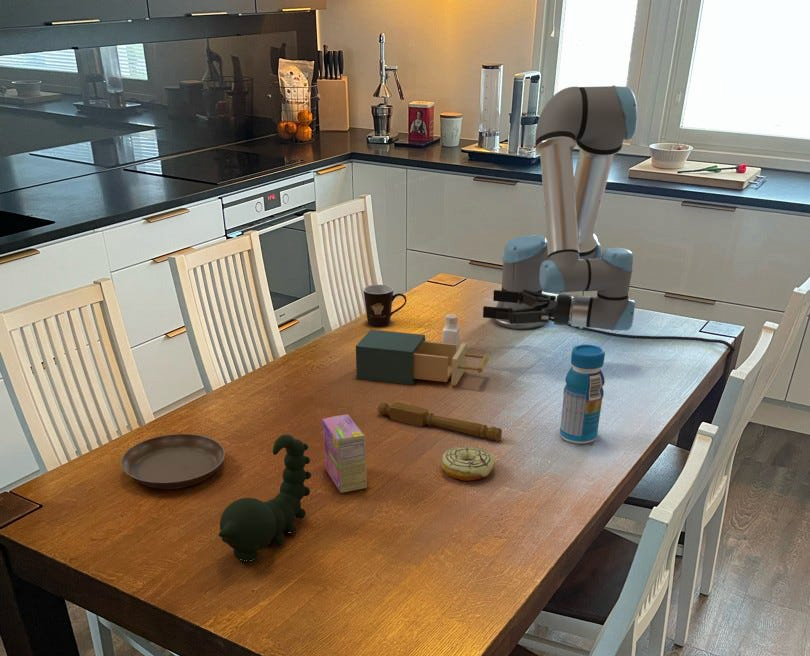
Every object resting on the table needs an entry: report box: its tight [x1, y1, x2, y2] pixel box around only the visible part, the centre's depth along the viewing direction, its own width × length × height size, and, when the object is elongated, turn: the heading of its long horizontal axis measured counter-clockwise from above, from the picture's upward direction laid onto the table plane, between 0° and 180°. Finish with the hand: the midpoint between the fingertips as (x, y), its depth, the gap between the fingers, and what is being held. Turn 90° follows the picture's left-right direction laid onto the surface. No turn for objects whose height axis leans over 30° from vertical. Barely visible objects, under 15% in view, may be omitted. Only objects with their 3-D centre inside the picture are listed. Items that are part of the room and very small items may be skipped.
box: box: [321, 413, 368, 494], centre depth 169 cm, size 10×6×12 cm, turn 21°
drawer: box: [413, 340, 491, 386], centre depth 212 cm, size 20×11×7 cm, turn 74°
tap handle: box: [377, 402, 503, 442], centre depth 191 cm, size 3×3×30 cm
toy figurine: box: [218, 434, 312, 563], centre depth 149 cm, size 9×19×25 cm
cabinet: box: [355, 329, 426, 386], centre depth 216 cm, size 15×12×9 cm
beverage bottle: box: [559, 344, 606, 445], centre depth 183 cm, size 8×8×20 cm
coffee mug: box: [362, 284, 407, 328], centre depth 245 cm, size 12×9×10 cm
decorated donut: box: [441, 446, 496, 482], centre depth 174 cm, size 10×11×4 cm
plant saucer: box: [120, 433, 226, 490], centre depth 175 cm, size 21×21×3 cm
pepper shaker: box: [441, 313, 461, 352], centre depth 228 cm, size 4×4×10 cm
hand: (488, 303), depth 221 cm, fingers open, 13 cm apart
